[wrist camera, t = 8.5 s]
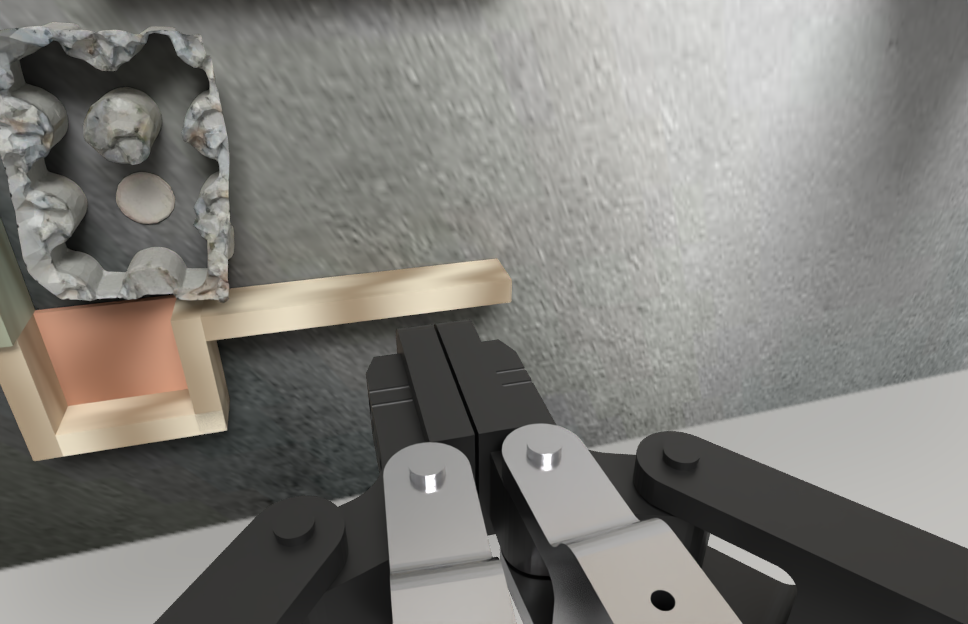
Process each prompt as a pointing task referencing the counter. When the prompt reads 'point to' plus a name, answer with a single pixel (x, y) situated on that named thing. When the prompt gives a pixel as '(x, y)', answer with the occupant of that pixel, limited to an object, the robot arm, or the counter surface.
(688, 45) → the counter surface
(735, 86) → the counter surface
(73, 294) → the egg carton
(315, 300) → the box
